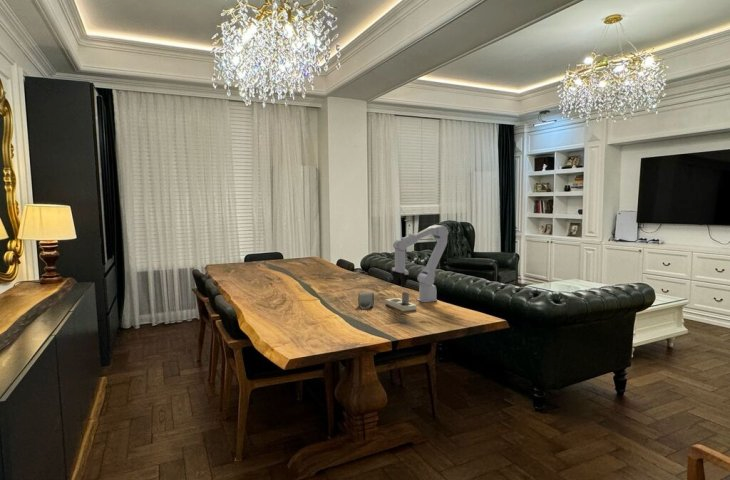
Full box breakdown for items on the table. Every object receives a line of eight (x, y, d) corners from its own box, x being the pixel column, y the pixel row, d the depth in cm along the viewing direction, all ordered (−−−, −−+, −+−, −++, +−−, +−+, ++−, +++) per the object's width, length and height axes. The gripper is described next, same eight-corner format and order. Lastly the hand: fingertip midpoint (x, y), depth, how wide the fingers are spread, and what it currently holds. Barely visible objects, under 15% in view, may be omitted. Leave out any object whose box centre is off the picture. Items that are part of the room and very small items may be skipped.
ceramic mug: (359, 304, 234) (359, 290, 233) (374, 304, 233) (374, 290, 232) (357, 309, 223) (356, 295, 222) (372, 310, 222) (372, 295, 221)
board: (398, 303, 236) (398, 297, 236) (416, 310, 220) (416, 305, 220) (385, 304, 232) (385, 299, 232) (403, 312, 216) (403, 306, 216)
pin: (405, 306, 225) (405, 292, 224) (410, 308, 222) (410, 293, 221) (400, 307, 223) (400, 293, 222) (405, 309, 220) (405, 294, 219)
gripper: (387, 260, 239) (387, 283, 240) (400, 263, 226) (400, 288, 227) (397, 259, 242) (397, 282, 243) (411, 262, 229) (411, 287, 230)
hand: (399, 285), depth 235 cm, fingers open, 7 cm apart
